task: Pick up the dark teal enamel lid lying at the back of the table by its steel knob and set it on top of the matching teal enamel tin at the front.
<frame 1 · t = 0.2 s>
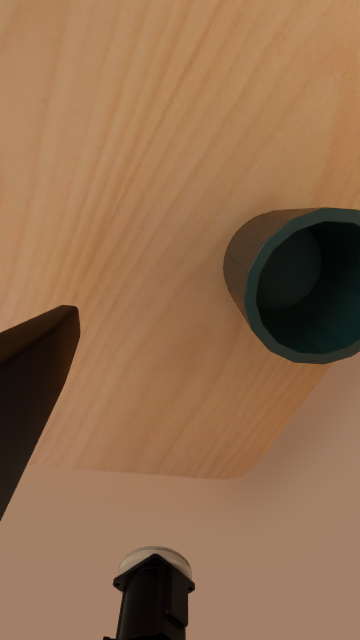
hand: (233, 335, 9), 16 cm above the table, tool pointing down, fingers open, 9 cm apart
tin: (274, 265, 24), on the table
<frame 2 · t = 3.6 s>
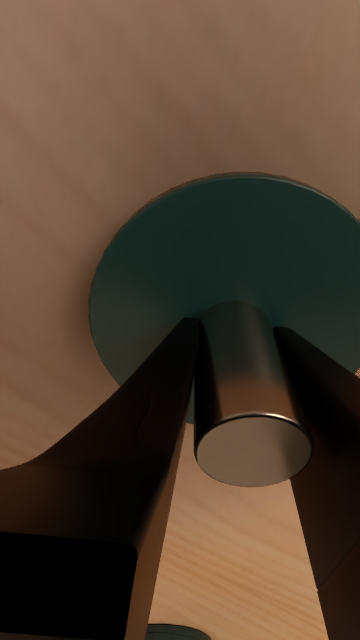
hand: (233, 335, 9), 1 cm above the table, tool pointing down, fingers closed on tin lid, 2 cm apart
tin lid: (230, 321, 10), point 1 cm above the table, touching gripper
tin: (167, 638, 29), on the table
when the fingers open (10 cm above the table, at t = 9.0 s): tin lid stays where it is, resting on tin.
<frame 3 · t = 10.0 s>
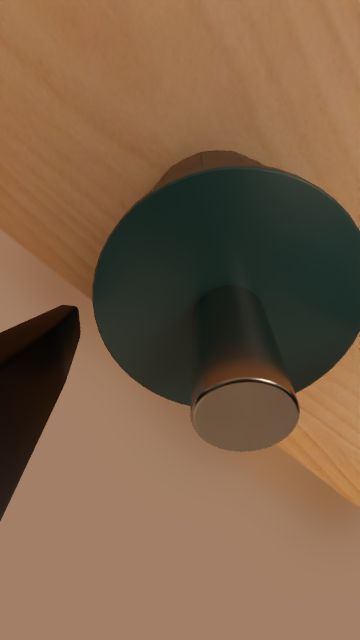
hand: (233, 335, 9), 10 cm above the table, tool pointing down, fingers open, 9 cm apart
tin lid: (226, 306, 10), point 9 cm above the table, touching tin
tin: (214, 228, 18), on the table
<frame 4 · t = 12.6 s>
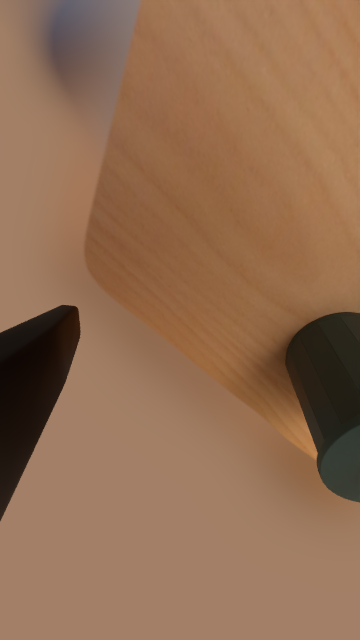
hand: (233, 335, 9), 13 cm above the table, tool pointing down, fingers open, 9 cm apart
tin: (335, 353, 25), on the table
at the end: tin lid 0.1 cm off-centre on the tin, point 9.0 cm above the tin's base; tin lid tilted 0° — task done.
